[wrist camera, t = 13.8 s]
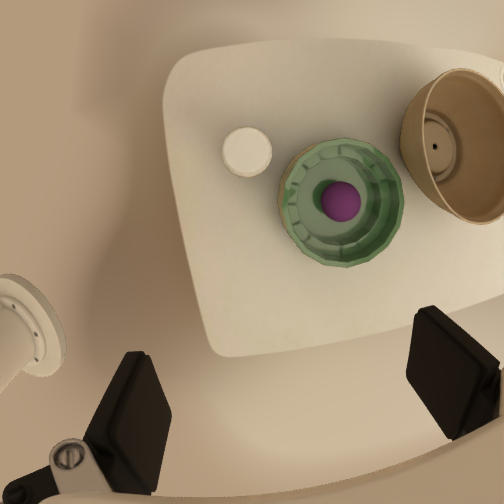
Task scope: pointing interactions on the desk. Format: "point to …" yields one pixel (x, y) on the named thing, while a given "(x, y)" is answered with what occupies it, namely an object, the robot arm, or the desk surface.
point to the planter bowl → (458, 145)
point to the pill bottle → (246, 152)
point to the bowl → (371, 211)
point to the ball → (340, 201)
